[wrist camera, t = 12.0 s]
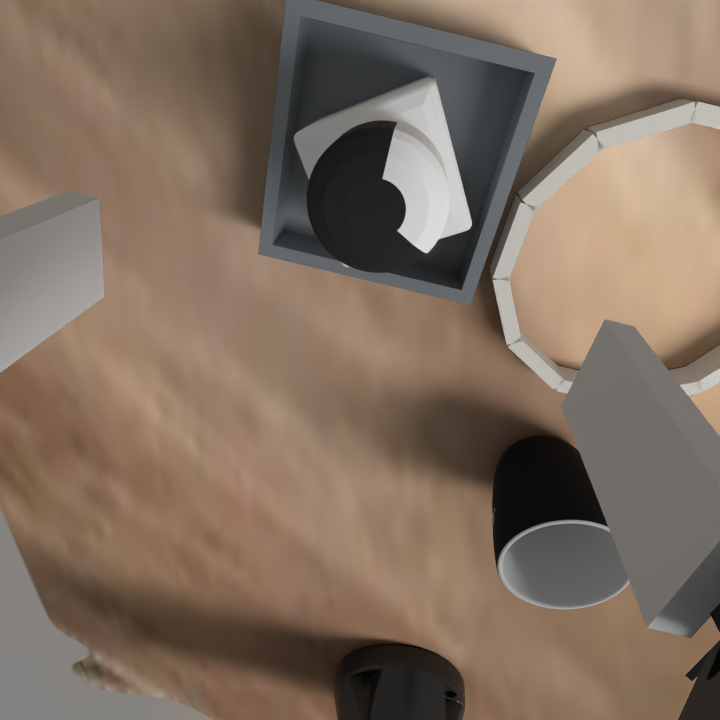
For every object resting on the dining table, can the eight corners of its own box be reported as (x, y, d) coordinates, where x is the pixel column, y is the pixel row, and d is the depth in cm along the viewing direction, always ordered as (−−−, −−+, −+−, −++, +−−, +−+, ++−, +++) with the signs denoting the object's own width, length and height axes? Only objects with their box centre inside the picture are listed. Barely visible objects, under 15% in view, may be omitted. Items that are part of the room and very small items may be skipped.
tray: (466, 280, 36) (470, 304, 33) (274, 234, 36) (258, 254, 32) (541, 57, 29) (556, 58, 26) (303, 0, 29) (286, -8, 25)
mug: (464, 447, 43) (473, 545, 35) (570, 405, 40) (609, 502, 31) (525, 538, 48) (546, 645, 39) (624, 507, 45) (672, 616, 36)
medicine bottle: (357, 232, 34) (327, 309, 24) (317, 119, 31) (261, 151, 21) (465, 197, 32) (482, 264, 22) (433, 72, 29) (436, 83, 19)
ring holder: (704, 412, 39) (717, 429, 37) (458, 354, 39) (460, 368, 37) (888, 149, 29) (917, 154, 28) (560, 69, 29) (568, 70, 27)
